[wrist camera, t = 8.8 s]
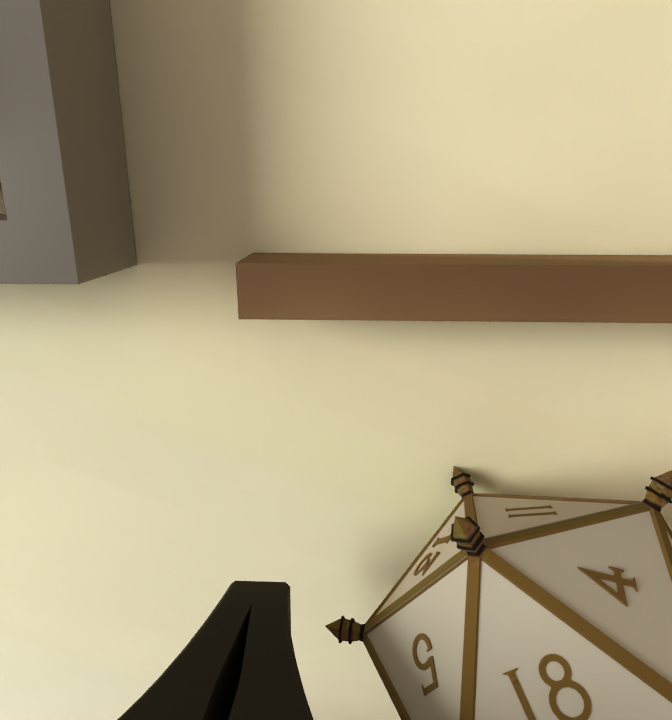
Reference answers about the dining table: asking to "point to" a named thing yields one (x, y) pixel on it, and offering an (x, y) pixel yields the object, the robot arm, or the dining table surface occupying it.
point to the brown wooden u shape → (456, 287)
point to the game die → (531, 612)
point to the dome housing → (61, 145)
